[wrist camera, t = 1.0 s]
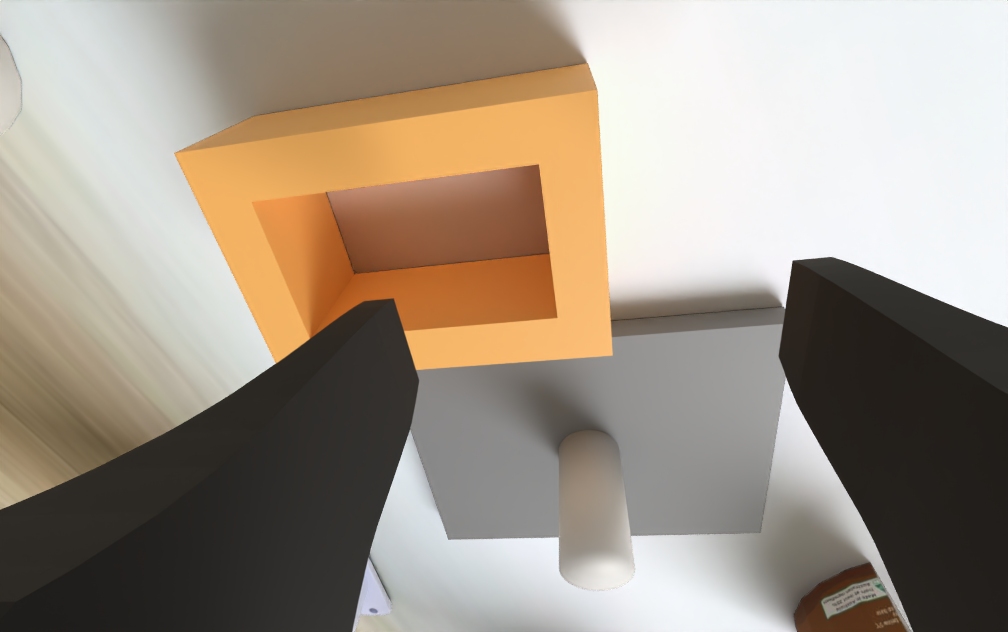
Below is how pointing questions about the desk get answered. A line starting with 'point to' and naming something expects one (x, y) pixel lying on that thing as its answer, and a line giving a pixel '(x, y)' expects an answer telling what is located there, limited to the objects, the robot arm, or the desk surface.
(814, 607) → the food container
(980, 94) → the desk surface
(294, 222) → the link
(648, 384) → the plate
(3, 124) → the bottle
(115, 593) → the robot arm
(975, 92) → the desk surface
